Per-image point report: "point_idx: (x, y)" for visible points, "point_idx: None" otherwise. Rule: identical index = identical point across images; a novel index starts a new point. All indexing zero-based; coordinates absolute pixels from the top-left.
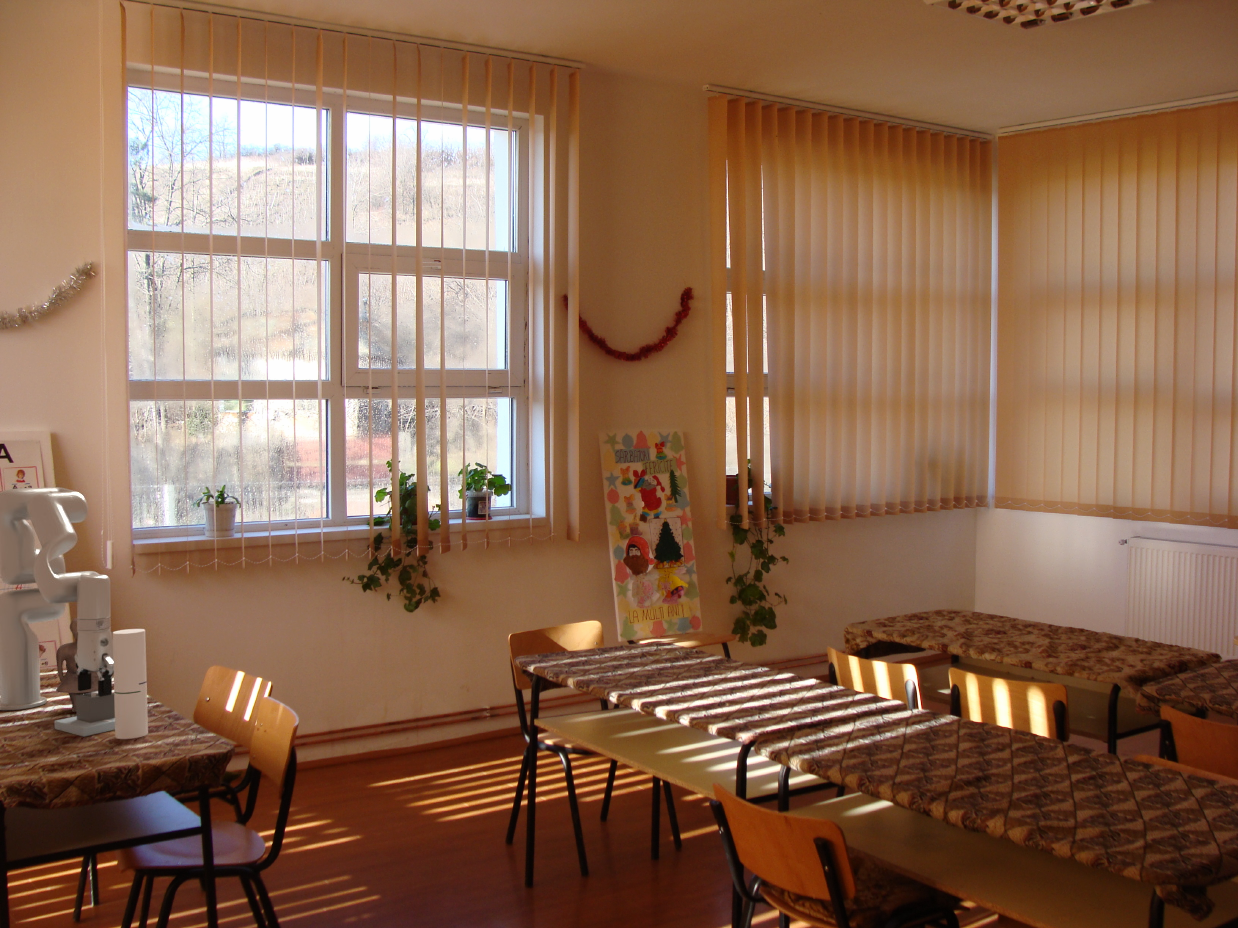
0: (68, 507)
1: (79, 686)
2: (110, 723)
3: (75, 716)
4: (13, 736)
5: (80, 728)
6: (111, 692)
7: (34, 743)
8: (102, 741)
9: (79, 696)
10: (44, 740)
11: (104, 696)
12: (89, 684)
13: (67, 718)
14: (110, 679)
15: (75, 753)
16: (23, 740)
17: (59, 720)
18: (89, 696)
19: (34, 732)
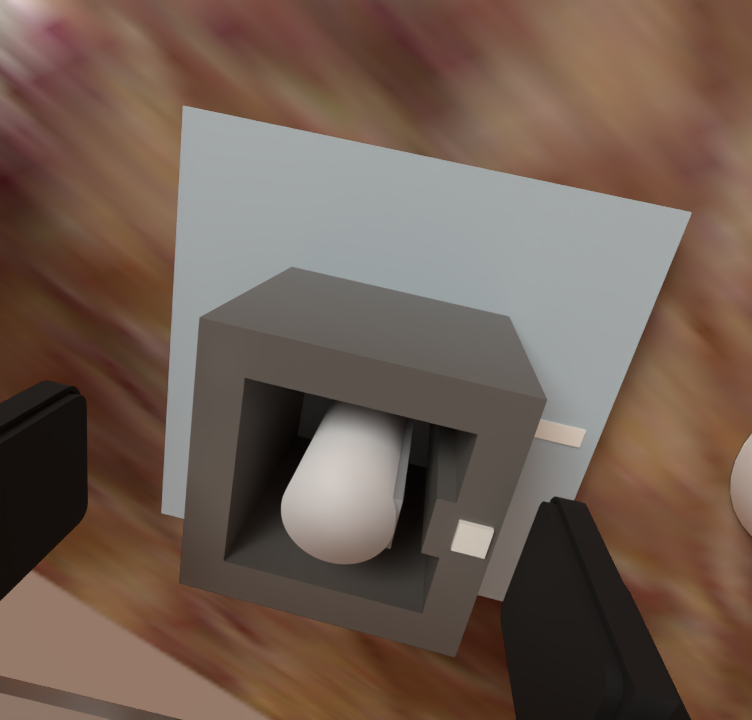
0: None
1: (46, 546)
2: (591, 445)
3: (170, 390)
4: (150, 634)
5: (489, 591)
6: (586, 513)
7: (379, 703)
8: (741, 623)
9: (250, 599)
10: (374, 660)
11: (500, 520)
12: (46, 440)
13: (177, 447)
14: (662, 702)
15: None
16: (272, 675)
17: (182, 498)
18: (245, 477)
19: (165, 561)
